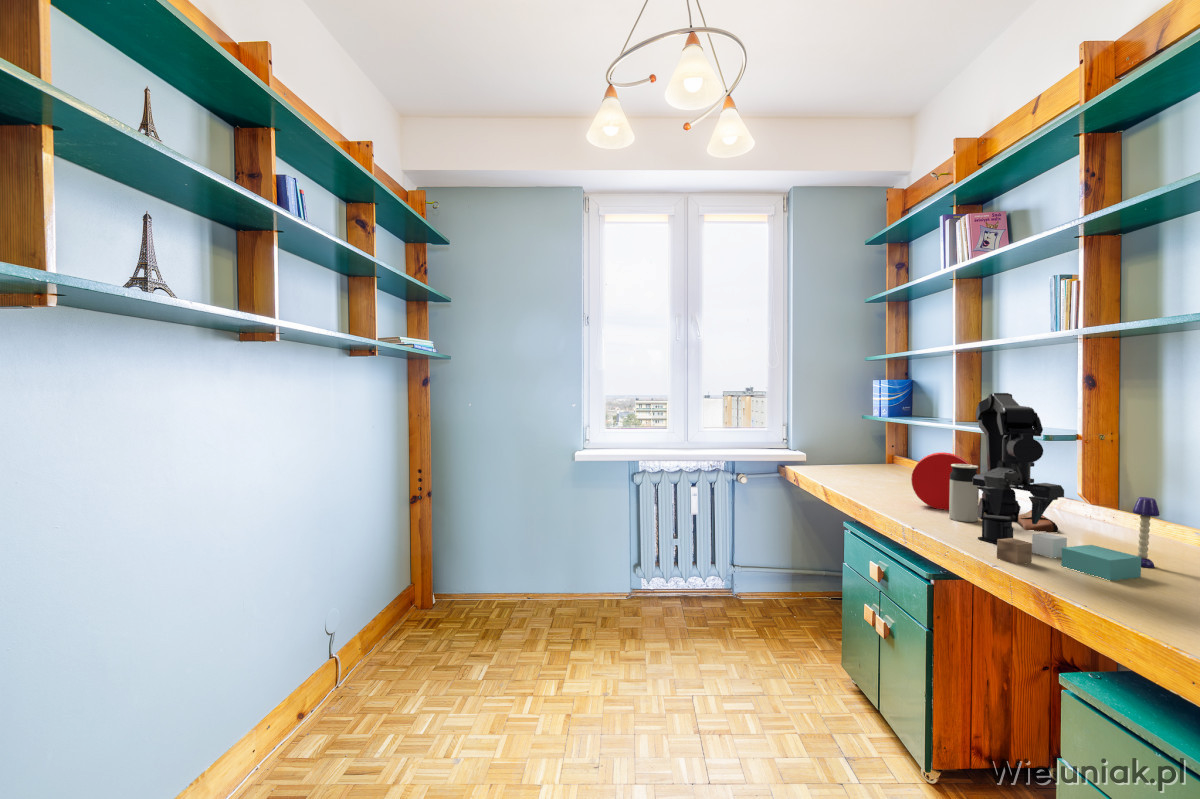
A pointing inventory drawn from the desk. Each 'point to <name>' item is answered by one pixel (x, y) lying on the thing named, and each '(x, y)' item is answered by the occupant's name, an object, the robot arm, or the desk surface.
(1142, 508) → the toy lamp
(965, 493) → the travel mug
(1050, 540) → the grey cube
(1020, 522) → the sunglasses case
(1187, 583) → the desk surface
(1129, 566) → the teal base block
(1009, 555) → the walnut cube
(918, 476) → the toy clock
